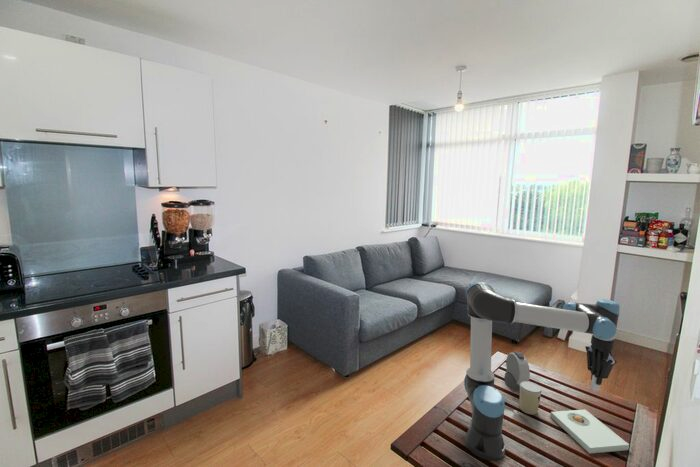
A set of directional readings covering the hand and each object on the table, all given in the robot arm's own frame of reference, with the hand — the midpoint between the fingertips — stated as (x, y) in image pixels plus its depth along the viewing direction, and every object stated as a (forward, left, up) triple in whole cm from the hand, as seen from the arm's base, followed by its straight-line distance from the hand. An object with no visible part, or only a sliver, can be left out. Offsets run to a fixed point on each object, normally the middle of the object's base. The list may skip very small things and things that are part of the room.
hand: (594, 389), depth 141 cm
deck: (+2, +3, -22) cm, 23 cm away
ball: (+2, +8, -21) cm, 22 cm away
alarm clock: (-7, +40, -23) cm, 46 cm away
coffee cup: (-14, +20, -23) cm, 33 cm away
